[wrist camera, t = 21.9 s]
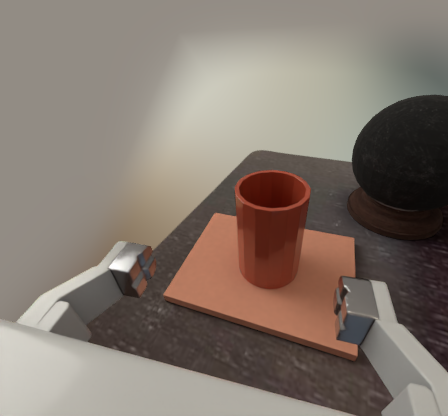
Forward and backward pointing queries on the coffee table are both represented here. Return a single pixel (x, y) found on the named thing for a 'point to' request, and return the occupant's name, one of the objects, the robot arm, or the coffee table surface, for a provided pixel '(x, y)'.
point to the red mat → (268, 298)
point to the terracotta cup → (270, 226)
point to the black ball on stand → (403, 169)
